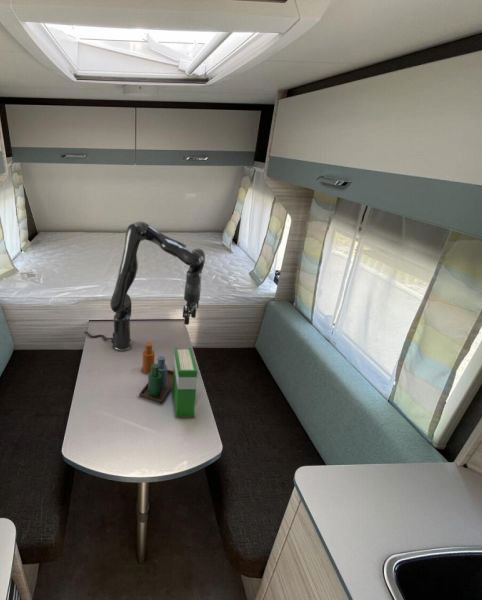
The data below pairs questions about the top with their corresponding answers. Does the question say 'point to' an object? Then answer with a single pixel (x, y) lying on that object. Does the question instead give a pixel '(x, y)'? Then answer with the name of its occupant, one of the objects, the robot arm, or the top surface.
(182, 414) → the hardback book
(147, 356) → the amber bottle
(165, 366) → the slate bottle
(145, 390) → the tray
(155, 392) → the green bottle
